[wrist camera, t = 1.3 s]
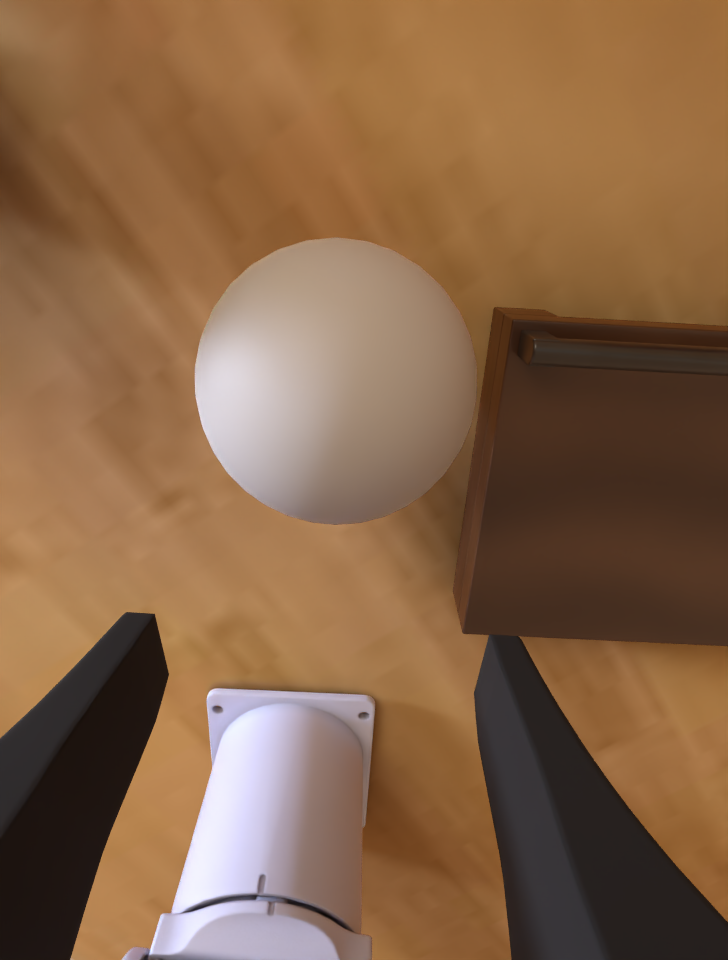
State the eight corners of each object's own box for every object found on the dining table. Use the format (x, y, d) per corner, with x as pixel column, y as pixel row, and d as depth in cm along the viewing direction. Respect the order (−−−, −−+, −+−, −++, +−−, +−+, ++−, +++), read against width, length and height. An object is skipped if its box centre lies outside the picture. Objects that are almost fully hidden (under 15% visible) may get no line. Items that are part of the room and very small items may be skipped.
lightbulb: (241, 254, 19) (95, 284, 9) (422, 216, 18) (489, 203, 8) (285, 424, 21) (211, 601, 11) (445, 395, 21) (519, 554, 11)
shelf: (790, 607, 24) (873, 682, 20) (452, 591, 24) (469, 663, 20) (917, 330, 19) (1059, 357, 15) (493, 307, 19) (526, 327, 15)
